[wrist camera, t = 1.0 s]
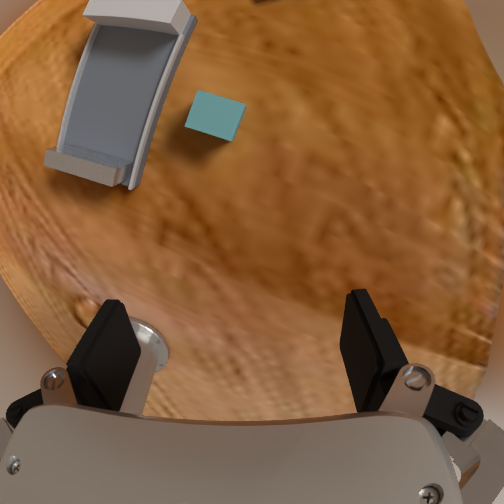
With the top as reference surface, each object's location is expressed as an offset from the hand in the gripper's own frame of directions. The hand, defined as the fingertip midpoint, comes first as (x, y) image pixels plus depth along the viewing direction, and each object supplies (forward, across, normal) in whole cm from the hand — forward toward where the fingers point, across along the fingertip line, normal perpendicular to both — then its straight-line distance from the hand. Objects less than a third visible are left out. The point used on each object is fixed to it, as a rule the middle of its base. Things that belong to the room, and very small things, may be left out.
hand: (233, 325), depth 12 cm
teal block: (+26, +3, -8) cm, 27 cm away
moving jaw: (+23, +18, -5) cm, 30 cm away
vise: (+26, +15, -13) cm, 32 cm away
